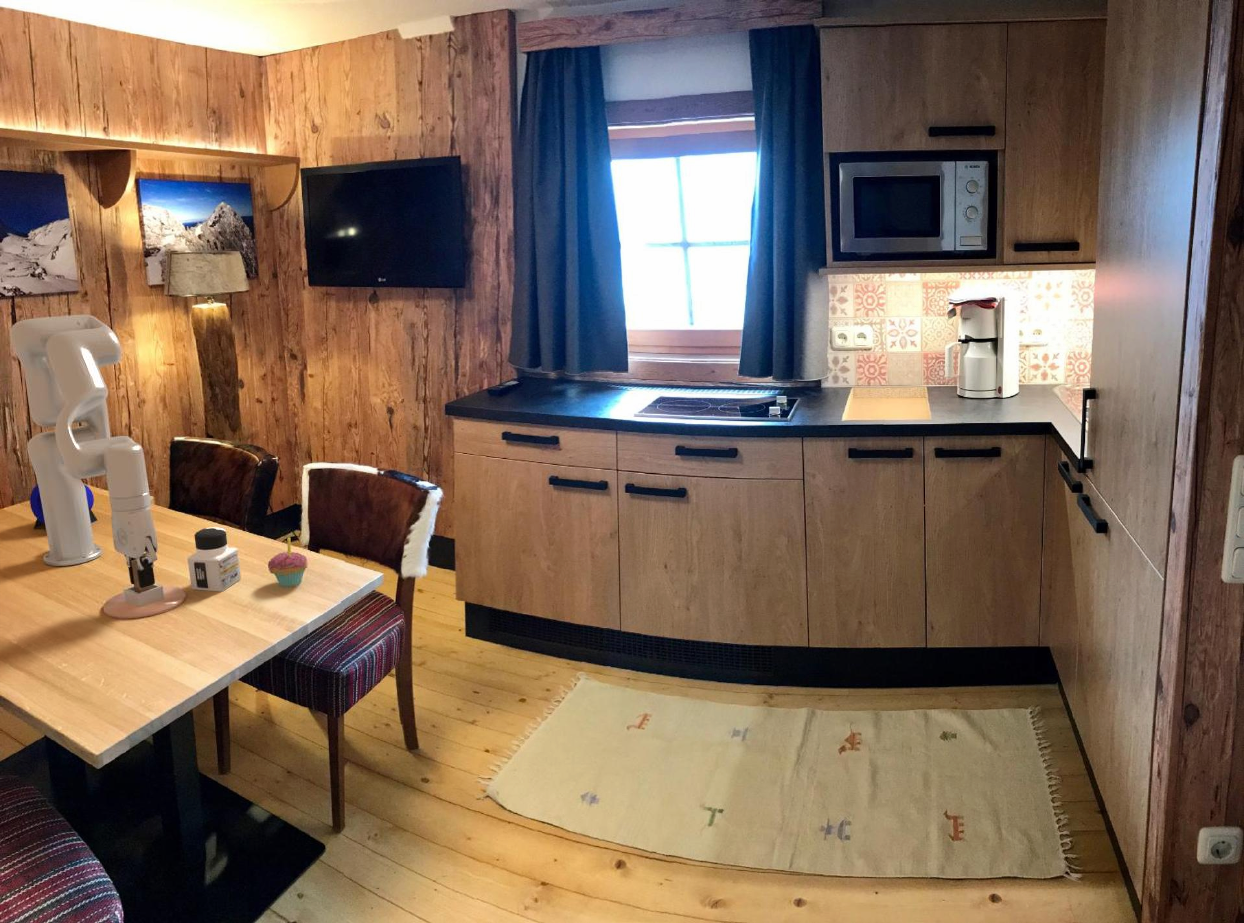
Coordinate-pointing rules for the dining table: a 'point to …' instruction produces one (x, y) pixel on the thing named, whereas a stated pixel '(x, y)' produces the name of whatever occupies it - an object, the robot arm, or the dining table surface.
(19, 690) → the dining table surface
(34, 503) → the alarm clock
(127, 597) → the clip base
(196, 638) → the dining table surface
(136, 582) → the wooden square post
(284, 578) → the cupcake
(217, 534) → the container
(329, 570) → the dining table surface
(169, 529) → the dining table surface
